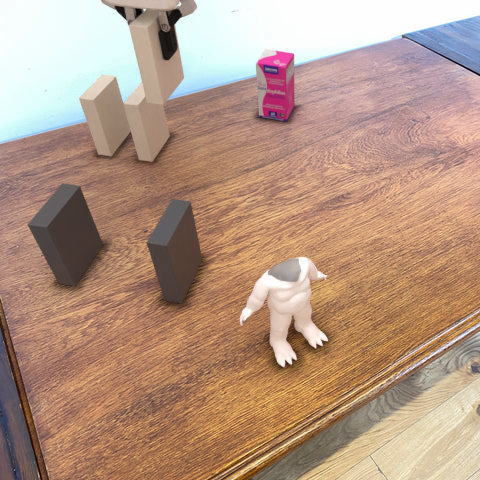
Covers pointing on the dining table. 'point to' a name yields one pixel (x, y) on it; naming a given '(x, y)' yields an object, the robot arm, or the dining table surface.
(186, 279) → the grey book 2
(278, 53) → the supplement box
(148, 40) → the white book
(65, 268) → the dark grey block
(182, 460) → the dining table surface
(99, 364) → the dining table surface
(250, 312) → the toy creature
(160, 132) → the white book
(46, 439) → the dining table surface
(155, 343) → the dining table surface
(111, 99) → the white book
